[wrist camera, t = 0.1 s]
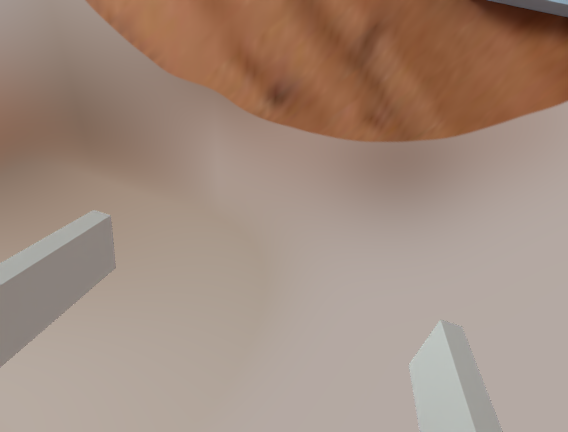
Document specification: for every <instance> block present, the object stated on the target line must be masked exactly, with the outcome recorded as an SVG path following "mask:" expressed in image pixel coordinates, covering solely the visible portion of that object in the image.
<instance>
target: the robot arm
mask: <svg viewBox="0 0 568 432" xmlns="http://www.w3.org/2000/svg"><path fill="white" fill-rule="evenodd" d="M115 268H116V264H115V254H114V243H113V233H112V222H111V215H108V214H105V213H102V212H99V211H96V210H92V211H91V212H89V213H87V214H85V215H84V216H82V217H80V218H78V219H77V220H75V221H73V222H71V223H70V224H68V225H66V226H64V227H63V228H61V229H59V230H57V231H56V232H54V233H52V234H50V235H49V236H47V237H45V238H43V239H42V240H40V241H38V242H36V243H35V244H33V245H31V246H29V247H28V248H26V249H24V250H22V251H21V252H19V253H17V254H16V255H14V256H12V257H10V258H8V259H7V260H5V261H3V262H1V263H0V367H1V366H2V365H4V364H5V363H6V362H7V361H8V360H9V359H11V358H12V357H13V356H14V355H15V354H16V353H18V352H19V351H20V350H21V349H22V348H23V347H25V346H26V345H27V344H28V343H29V342H30V341H32V340H33V339H34V338H35V337H36V336H37V335H38V334H40V333H41V332H42V331H43V330H44V329H45V328H47V327H48V326H49V325H50V324H51V323H52V322H54V320H56V319H57V318H58V317H59V316H61V314H63V313H64V312H65V311H66V310H67V309H69V308H70V307H71V306H72V305H73V304H74V303H76V302H77V301H78V300H79V299H80V298H81V297H82V296H84V295H85V294H86V293H87V292H88V291H89V290H91V289H92V288H93V287H94V286H95V285H96V284H97V283H99V282H100V281H101V280H102V279H103V278H104V277H106V276H107V275H108V274H109V273H110V272H112V271H113V270H114V269H115ZM409 370H410V376H411V382H412V388H413V395H414V401H415V407H416V412H417V419H418V424H419V431H420V432H503V431H502V428H501V426H500V423H499V421H498V418H497V415H496V413H495V410H494V408H493V406H492V403H491V400H490V397H489V395H488V393H487V390H486V387H485V385H484V382H483V379H482V377H481V374H480V372H479V369H478V367H477V364H476V361H475V359H474V356H473V354H472V351H471V349H470V346H469V344H468V341H467V338H466V336H465V333H464V331H463V328H462V326H459V325H456V324H453V323H450V322H446V321H444V320H440V321H439V322H438V324H437V325H436V327H435V328H434V330H433V331H432V332H431V334H430V335H429V337H428V338H427V339H426V341H425V342H424V344H423V345H422V347H421V348H420V349H419V351H418V352H417V354H416V355H415V357H414V358H413V359H412V361H411V362H410V364H409Z"/></svg>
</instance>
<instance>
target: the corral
mask: <svg viewBox="0 0 568 432" xmlns="http://www.w3.org/2000/svg"><path fill="white" fill-rule="evenodd" d="M488 1H493V2H497V3H502V4H507V5H512V6H516V7H521V8H526V9H531V10H535V11H540V12H545V13H549V14H554V15H559V16H564V17H568V0H488Z"/></svg>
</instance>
